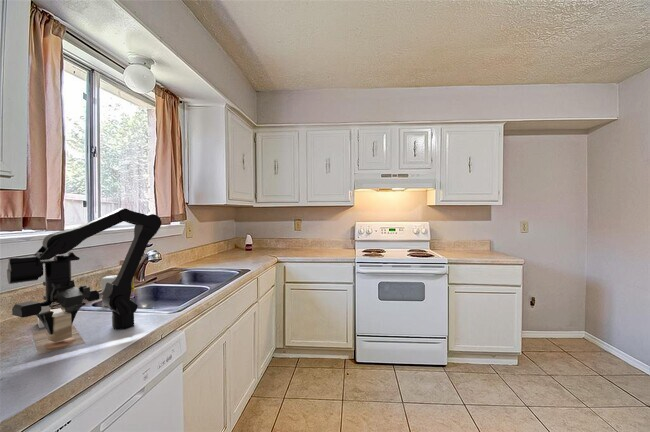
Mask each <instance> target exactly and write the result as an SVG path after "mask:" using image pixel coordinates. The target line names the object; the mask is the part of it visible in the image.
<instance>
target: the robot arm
mask: <svg viewBox="0 0 650 432" xmlns="http://www.w3.org/2000/svg"><path fill="white" fill-rule="evenodd" d="M123 222H125V223H128V224H131V225H134V228H133V232H134V233H133V236H134V237H133V240H132V242H131V244H130V246H129V248H128V251H127V253H126V255H125V257H124V259H123V262H122V264H121V267H120V269H119V270H120V271H119V270H118V274H117V275H118V276H117V278H116V279H115V280H114V281H113V282H112V283H108V282H107V283H106V286H105V290H104V291H103V292H102V291H101V293H100V292H99V290H96V289H92V288H91V287H90V285H88V284H86V285H81V286H78V287H76V285H75V281H74V279H72V261H79V260H80V259H81V258H80V257H78V256H77V255H76V254H75V253H74V252H73V251H71V250H73V249H74V248H76V247H77V246H79V245H80V244H81V243H83V241H85V240H86V239H88V238H90V237H92V236H95V235H97V234H100V233H101V232H103V231H106V230H107V229H110V228H112V227H114V226H116V225H118V224H120V223H123ZM162 223H163V222H162V219H161V218H160V217H159V215H157V214H155V213H154V214H153V213H141V212H138V211H137V212H136V211H134V210H132V209H131V210H130V209H129V208H118V209H115V210H114V211H111V212H110V213H108V214H105V215H103V216H100V217H98V218H96V219H94V220H91V221H88V222H86V223H84V224H81V225H79V226H77V227H73V228H69V229H66V230H61V231H56V232H52V233H50V234H48V235H46V236H45V237H44V239H43V240H42V246H41V247H40V248H39V249H38V250H37V251H36V252H35V253H34V254H33V255H32V256H25V257H24V256H23V257H15V256H14V257H9V258H8V264H7V269H6V278H7V283H8V285H12V284H13V285H14V284H19V283H21V284H22V283H27V282H28V283H29V282H34V281H35V282H36V281H38V280H39V279H40V278H41V277H43V276H44V281H43V282H42V286H44V287H45V295H43V301H40V302H37V301H33V300H28V301H25V302H24V301H23V302H19V303H15V304H14V305H13V306H12V308H11V314H12V316H15V317H19V318H28V317H32V316H36V317H37V319H38V318H39V319H40V320H41V322H42V323H43V325H44V326H45V327H44V328H45V329H46V330H47V331H48V333H49V334H50V335H52V334H53V323H52V315H53V313H54V312H53V311H50V310H51V308H53V307H56V306H61V307H62V308H64V312H68V313H71V322H72V324H74V320H75V318H76V315H77V313H78V312H79V310H80V309H81V308H82V307H84V306H86V305H87V303H85V302H84V300H85V301H87V302H92V301H94V302H95V301H97V300H99V299H100V295H101V302H102V301H103V303H104V304H105V305H106V307H107V308H109V310H110V311H112V312H111V316H112V317H111V319H112V320H111V323H112V324H111V325H112V329H113V330H117V331H118V330H121V331H122V330H127V329H130V328H133V327H135V312H137V309H138V306H139V305H138V304H137V303H135V302H134V301H133V300H131V299H130V296H131V287H132V280H133V278H134V279H135V275H136V273H137V270H138V267H139V265H140V263H141V261H142V259H143V256H144V254H145V251H146V249H147V246H148V245H149V242H150V241H151V240H152V239H153V238H154V236H155V235H156V234H157V232H158V231H159V230H160V228H161V227H162ZM102 295H103V297H102Z"/></svg>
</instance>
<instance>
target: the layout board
mask: <svg viewBox="0 0 650 432" xmlns="http://www.w3.org/2000/svg"><path fill="white" fill-rule="evenodd" d="M31 333H32V336H33V340H34V343H35V346H36V350H37V354H38V355H42V354H48V353H50V352H54V351H55V352H56V351H58V350H64V349H66V348H70V347H75V346H79V345H83V344H86V341H85V340H84V338H83V337H82V336H81V334H80V333H79V331H78V330H77V328H76V327H75V325H74V323H72V337H71V338H68V339H65V340H62V341H58V342H53V341H50V340H48V331H47V330H46V328H45V329H41V330H37V331H36V330H35V331H32V332H31Z"/></svg>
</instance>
